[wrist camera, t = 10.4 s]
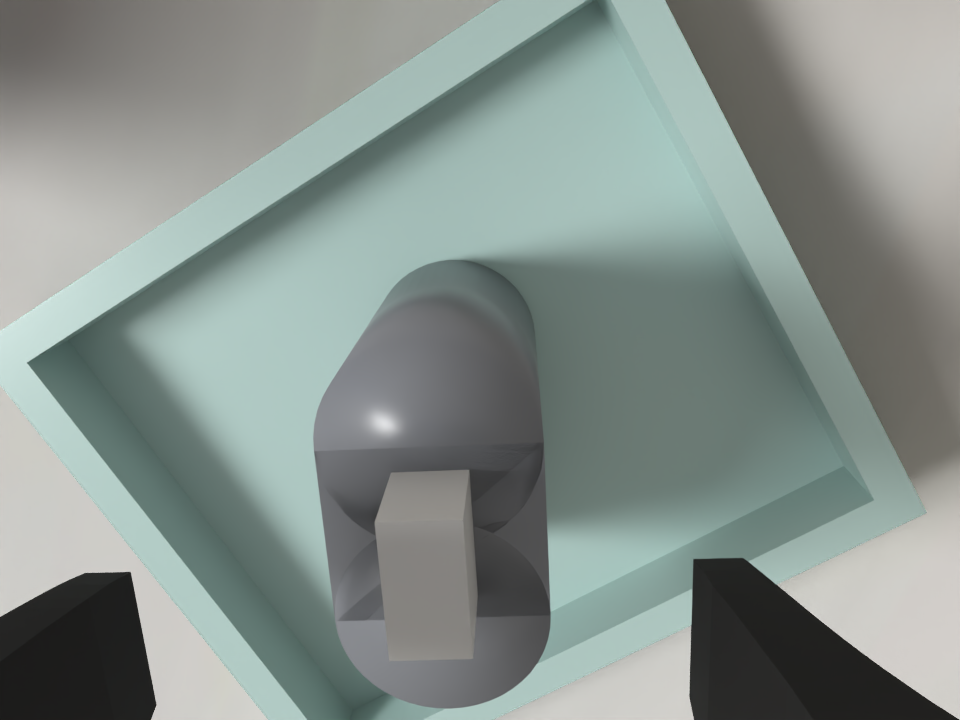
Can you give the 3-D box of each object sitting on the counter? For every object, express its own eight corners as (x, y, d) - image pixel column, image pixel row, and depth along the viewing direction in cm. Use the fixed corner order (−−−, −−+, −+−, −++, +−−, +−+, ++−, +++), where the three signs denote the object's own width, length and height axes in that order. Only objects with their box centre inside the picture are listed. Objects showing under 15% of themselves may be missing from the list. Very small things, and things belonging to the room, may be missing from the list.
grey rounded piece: (394, 535, 20) (326, 784, 13) (368, 264, 18) (269, 375, 11) (543, 530, 20) (558, 779, 13) (531, 255, 18) (542, 363, 11)
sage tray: (350, 723, 23) (330, 797, 20) (38, 319, 20) (-28, 349, 17) (877, 462, 20) (926, 512, 17) (608, -57, 17) (623, -81, 14)
